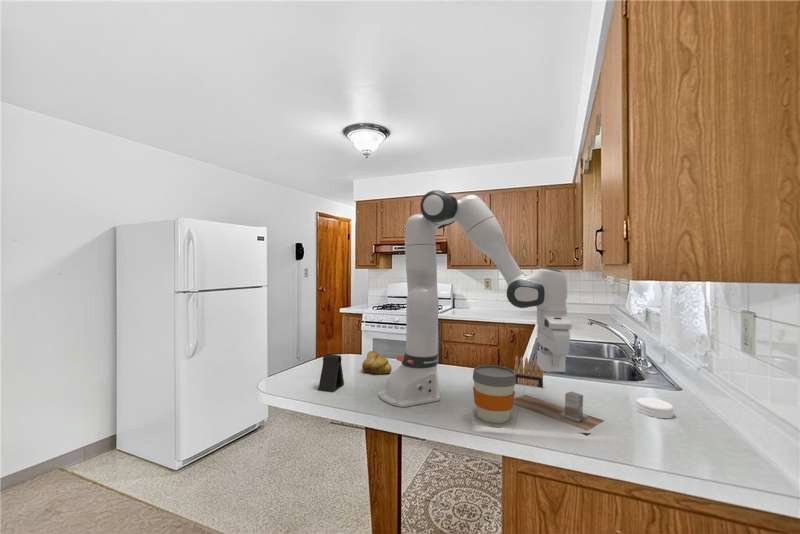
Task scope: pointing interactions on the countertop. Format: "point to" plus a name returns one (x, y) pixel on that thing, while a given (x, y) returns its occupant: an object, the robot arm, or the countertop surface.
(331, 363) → the black tent stand
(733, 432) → the countertop surface
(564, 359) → the white block
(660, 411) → the coaster
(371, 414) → the countertop surface
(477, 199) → the robot arm
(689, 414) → the countertop surface
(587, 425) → the brown flat wooden board
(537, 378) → the ammunition clip
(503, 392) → the reusable coffee cup
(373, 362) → the bread roll
